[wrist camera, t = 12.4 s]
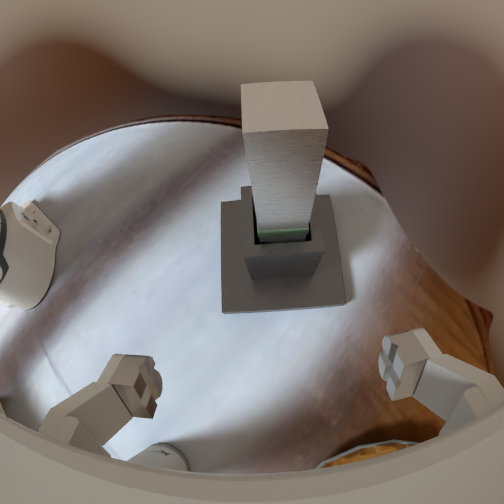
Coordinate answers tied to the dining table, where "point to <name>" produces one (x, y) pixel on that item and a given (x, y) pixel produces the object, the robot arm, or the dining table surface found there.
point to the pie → (366, 452)
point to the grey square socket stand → (278, 262)
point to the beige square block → (283, 155)
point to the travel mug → (161, 457)
